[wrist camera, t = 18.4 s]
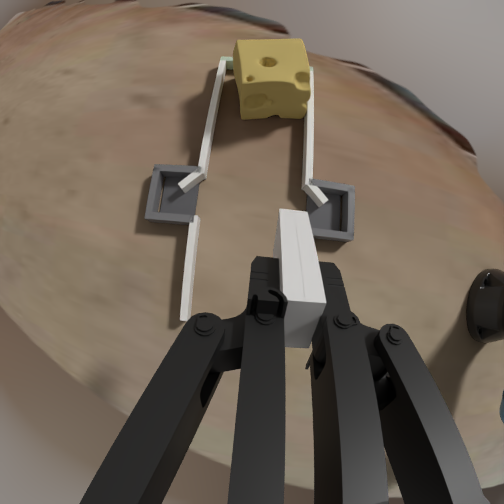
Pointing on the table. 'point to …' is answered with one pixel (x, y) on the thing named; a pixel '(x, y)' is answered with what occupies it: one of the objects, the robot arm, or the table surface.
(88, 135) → the table surface
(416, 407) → the robot arm
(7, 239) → the table surface
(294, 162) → the table surface
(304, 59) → the cheese
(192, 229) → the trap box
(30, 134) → the table surface
